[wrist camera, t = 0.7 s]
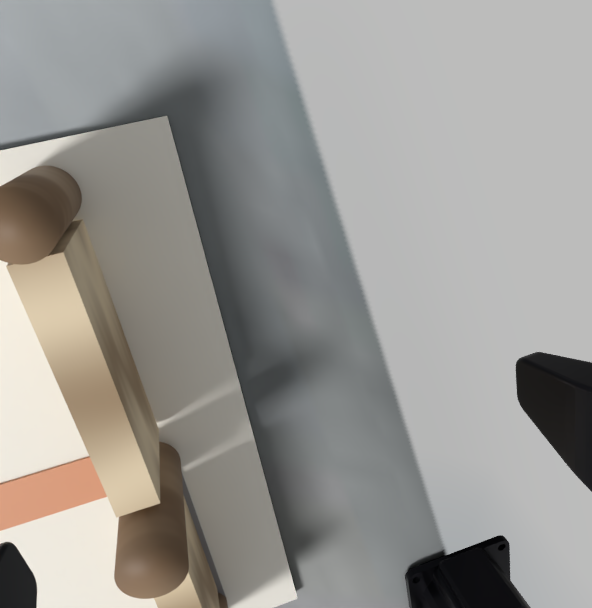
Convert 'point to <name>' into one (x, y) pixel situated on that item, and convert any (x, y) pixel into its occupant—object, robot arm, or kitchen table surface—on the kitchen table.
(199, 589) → the beige flat block
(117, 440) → the fence gate
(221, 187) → the kitchen table surface
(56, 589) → the card
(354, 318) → the kitchen table surface
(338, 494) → the kitchen table surface
